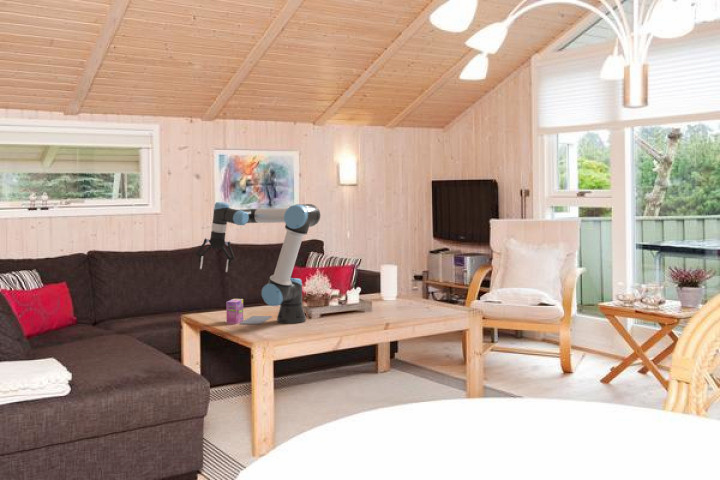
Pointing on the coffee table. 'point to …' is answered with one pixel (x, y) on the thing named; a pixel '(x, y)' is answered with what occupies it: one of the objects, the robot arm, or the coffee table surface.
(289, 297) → the robot arm
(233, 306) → the box
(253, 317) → the felt mat
